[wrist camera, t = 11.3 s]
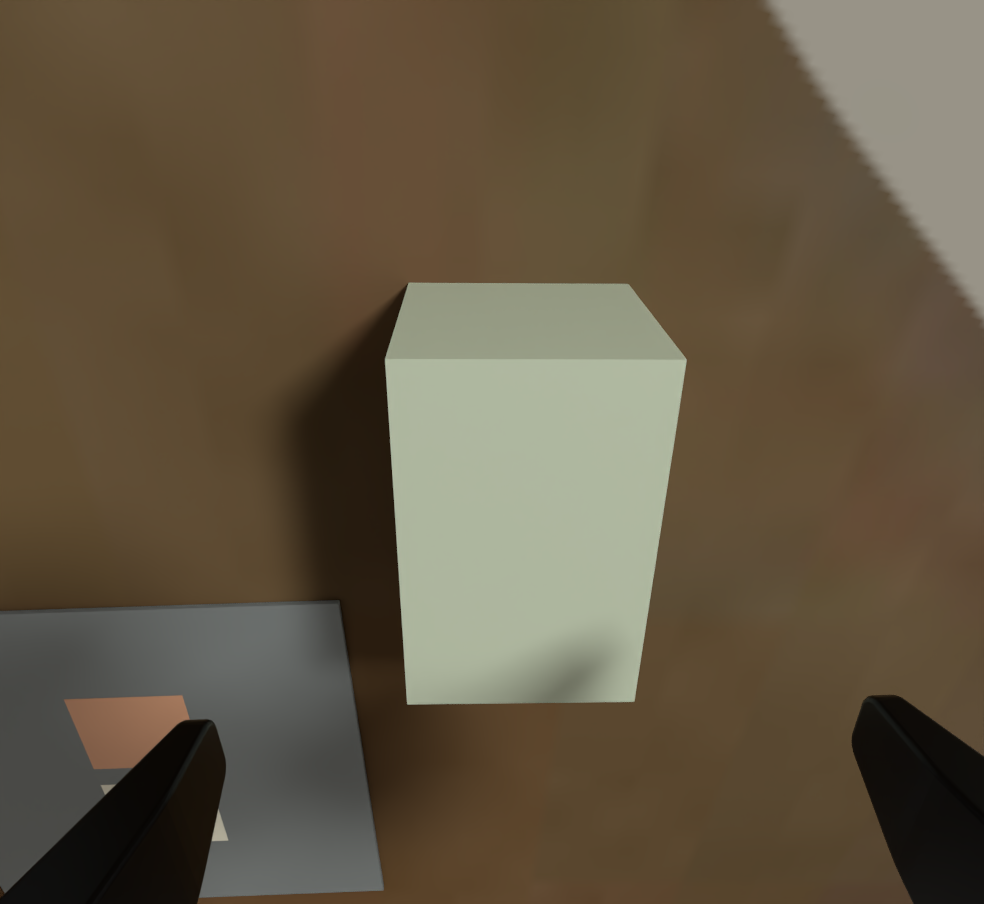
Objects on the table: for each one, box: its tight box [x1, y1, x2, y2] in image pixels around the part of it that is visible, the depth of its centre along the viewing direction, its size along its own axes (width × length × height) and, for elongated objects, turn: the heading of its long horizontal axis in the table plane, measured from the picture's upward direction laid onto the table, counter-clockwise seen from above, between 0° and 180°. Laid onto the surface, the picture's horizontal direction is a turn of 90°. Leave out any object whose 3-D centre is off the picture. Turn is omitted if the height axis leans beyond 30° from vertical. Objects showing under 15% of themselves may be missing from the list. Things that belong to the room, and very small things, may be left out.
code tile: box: [0, 600, 384, 898], centre depth 23 cm, size 14×14×1 cm
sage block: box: [385, 283, 687, 705], centre depth 16 cm, size 5×8×5 cm, turn 179°
